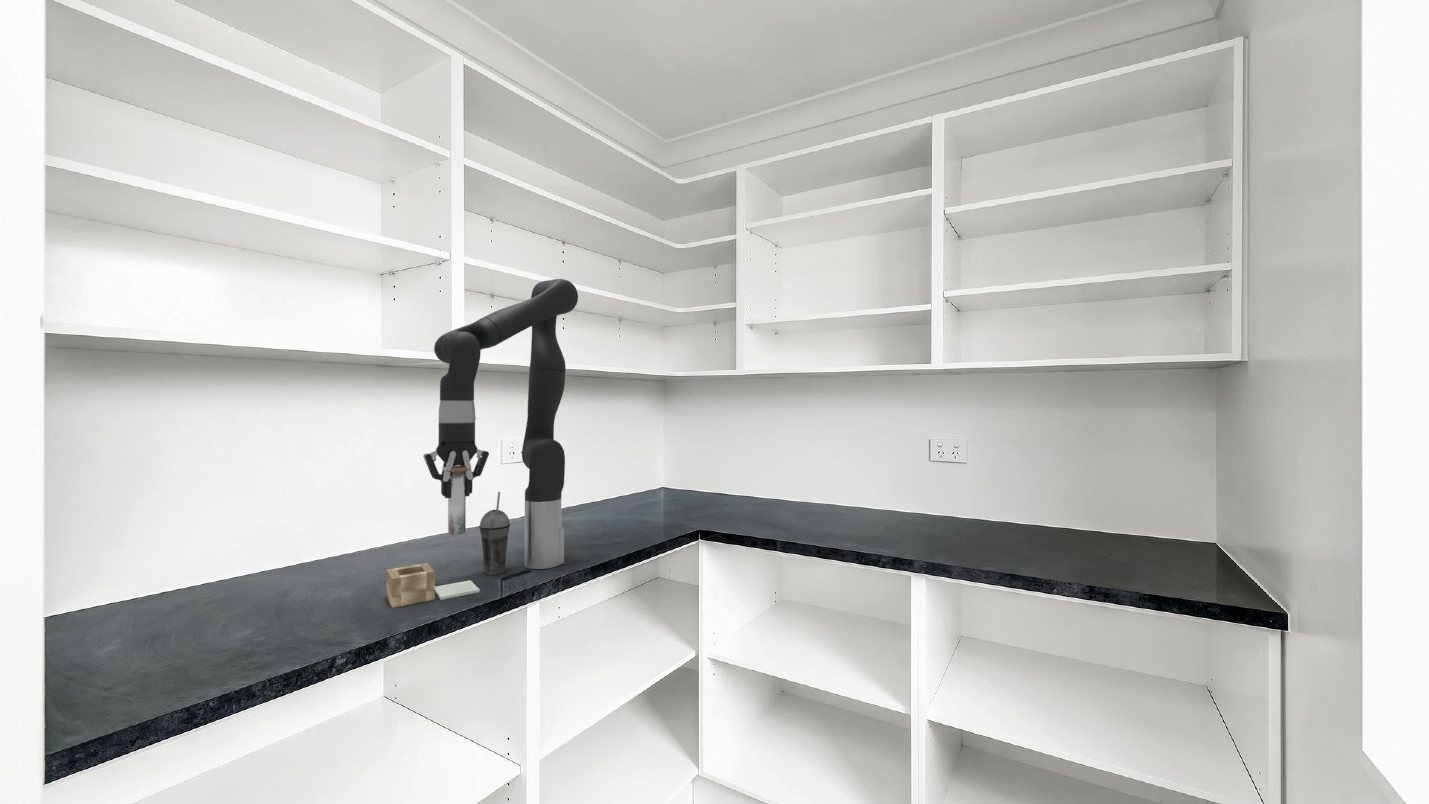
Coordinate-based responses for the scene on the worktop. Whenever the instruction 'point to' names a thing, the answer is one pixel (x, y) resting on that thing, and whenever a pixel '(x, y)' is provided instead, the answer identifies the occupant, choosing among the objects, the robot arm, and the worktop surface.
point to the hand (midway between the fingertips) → (456, 496)
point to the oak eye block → (410, 585)
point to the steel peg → (457, 500)
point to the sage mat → (456, 589)
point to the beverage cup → (494, 540)
